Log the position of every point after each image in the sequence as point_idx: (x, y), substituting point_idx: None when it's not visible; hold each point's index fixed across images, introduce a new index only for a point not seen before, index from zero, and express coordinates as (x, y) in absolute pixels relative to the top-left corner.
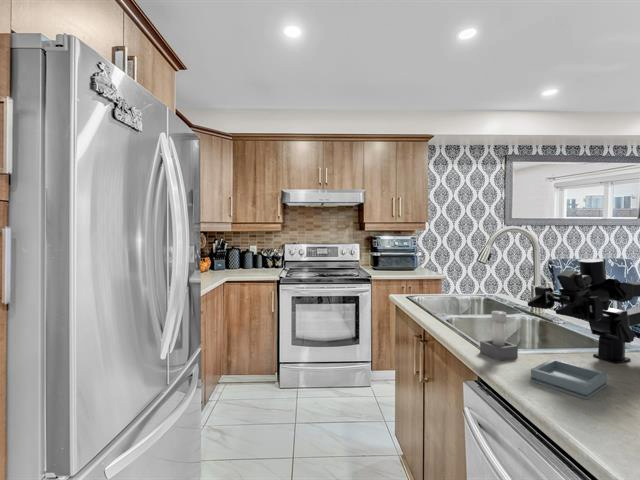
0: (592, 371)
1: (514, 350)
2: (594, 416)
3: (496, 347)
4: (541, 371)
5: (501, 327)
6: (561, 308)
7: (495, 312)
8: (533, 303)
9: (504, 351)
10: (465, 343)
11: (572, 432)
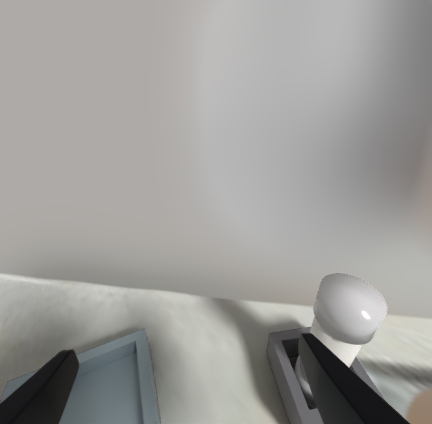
0: None
1: (294, 413)
2: (5, 350)
3: (280, 334)
4: (123, 342)
5: (314, 326)
6: (27, 381)
7: (346, 283)
8: (319, 385)
9: (276, 362)
10: (409, 350)
11: (33, 287)
